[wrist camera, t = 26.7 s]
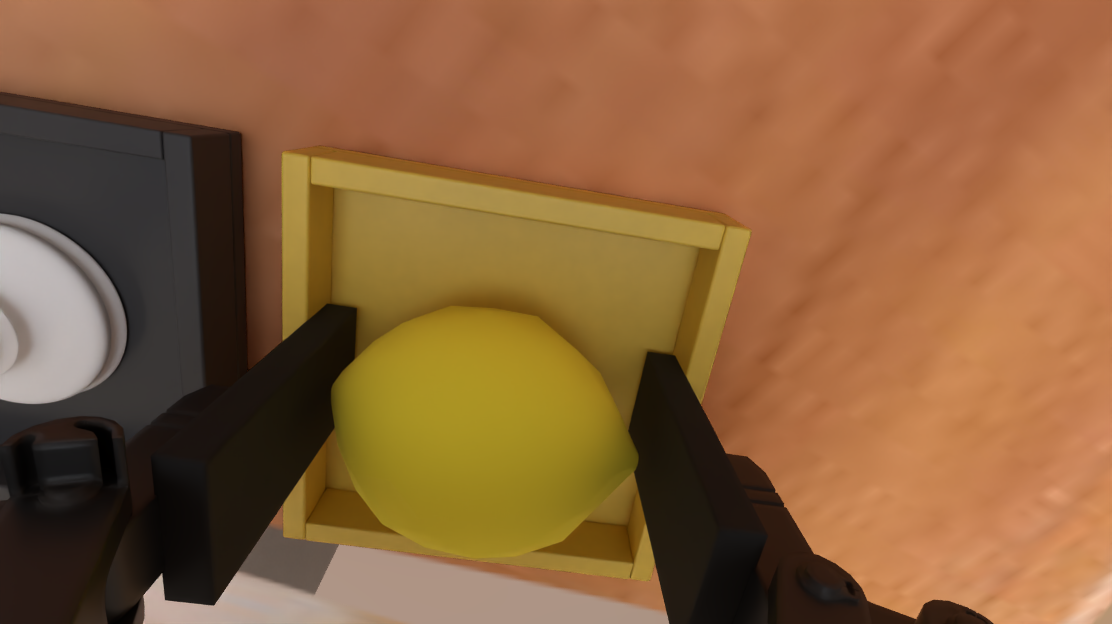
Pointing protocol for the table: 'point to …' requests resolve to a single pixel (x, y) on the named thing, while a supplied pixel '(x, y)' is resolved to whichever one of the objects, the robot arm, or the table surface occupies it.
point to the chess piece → (54, 315)
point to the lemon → (479, 432)
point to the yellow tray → (501, 304)
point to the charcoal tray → (136, 246)
